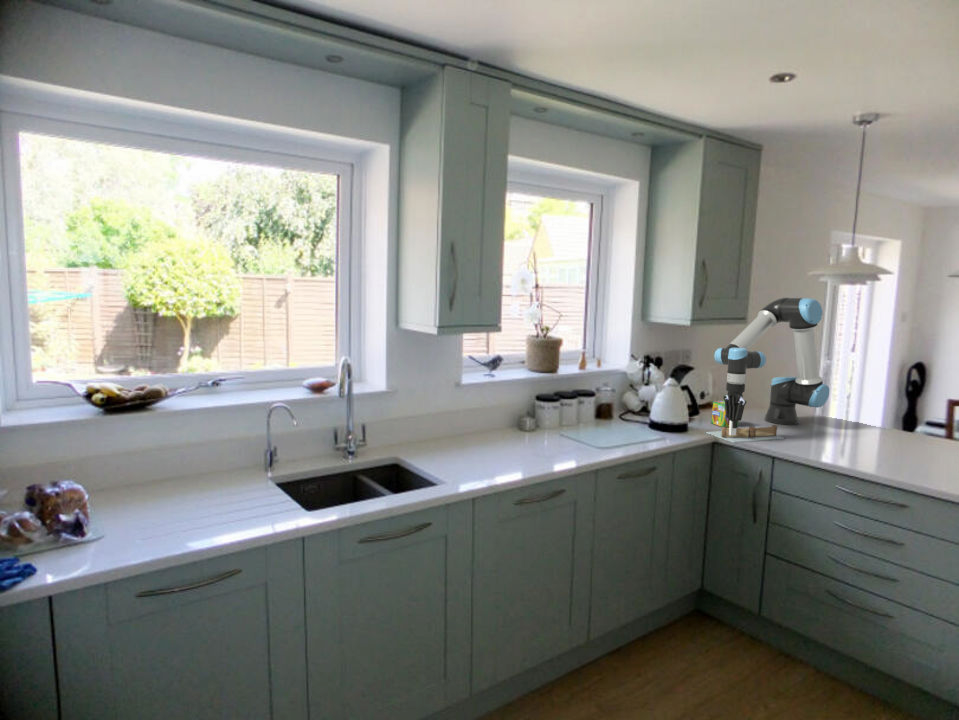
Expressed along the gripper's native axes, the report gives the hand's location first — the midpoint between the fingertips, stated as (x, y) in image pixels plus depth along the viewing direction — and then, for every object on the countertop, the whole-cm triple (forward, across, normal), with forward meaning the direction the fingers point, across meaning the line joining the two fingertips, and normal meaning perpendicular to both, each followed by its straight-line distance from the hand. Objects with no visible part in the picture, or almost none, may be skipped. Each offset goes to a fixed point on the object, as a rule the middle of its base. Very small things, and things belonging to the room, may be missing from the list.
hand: (732, 434), depth 261 cm
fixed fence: (+2, -1, +16) cm, 16 cm away
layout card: (+2, -4, +10) cm, 11 cm away
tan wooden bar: (+1, -1, +2) cm, 3 cm away
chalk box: (+2, -25, +14) cm, 28 cm away
